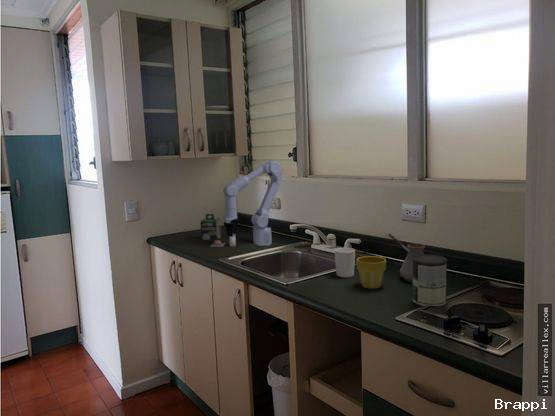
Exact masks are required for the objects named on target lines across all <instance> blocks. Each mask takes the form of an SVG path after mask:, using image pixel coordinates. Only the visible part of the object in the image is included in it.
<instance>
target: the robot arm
mask: <svg viewBox="0 0 555 416" xmlns="http://www.w3.org/2000/svg"><path fill="white" fill-rule="evenodd" d="M282 170H283V168H282V165H281V163H280V162H279V161H271V160H267V161H265V162H264V163H261V164H260V165H259V166H257V167H256V168H255V169H253V170H252V171H251V172H249V173H248V174H247V175H238V176H237V178H236V179H235V180H233V181H230V183H229V184H225V186H224V187H223V190H222V192H223V194H224V205H225V206H224V208H225V216H223V219H225V221H224V222H223V226H224V227H225V230H226V233H227V236H228V237H229V236H233V234H236V233H237V230H238V224H239V222H240V218H238V208H237V205H238V203H237V195H238V192H240V191H242V190H243V189H245V188H246V187H247V186H249V185H250V182H251V181H252V180H254V179H256V178H257V177H259V176H260V175H263V174H266V175H268V177H269V179H270V183H269V184H268V187H267V188H266V189H267V190H266V191H265V194H264V195H263V199H262V201H261V203H260V206H259V207H258V208H257V210H256V211H255V213H254V214H253V215H252V216H251V219H250V221H251V224H253V226H252V234H253V239H252V241H253V244H255V246H257V247H258V246H260V247H261V246H262V247H263V246H264V247H265V246H266V247H267V246H271V245H272V243H273V242H272V241H273V240H272V239H273V238H272V228H271V227H268V224H269V218H270V210H271V207H272V206H273V203H274V200H275V198H276V195H277V193H278V191H279V189H280V185H281V183H282V181H283V177H282V174H283V173H282Z"/></svg>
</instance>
